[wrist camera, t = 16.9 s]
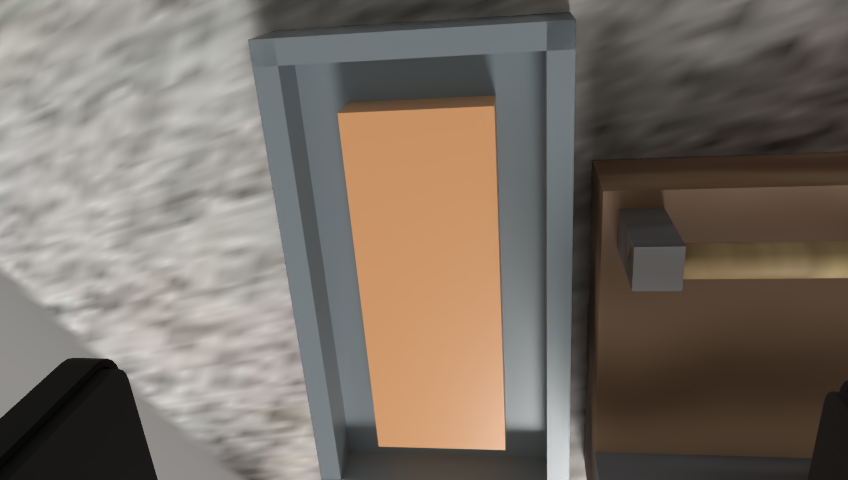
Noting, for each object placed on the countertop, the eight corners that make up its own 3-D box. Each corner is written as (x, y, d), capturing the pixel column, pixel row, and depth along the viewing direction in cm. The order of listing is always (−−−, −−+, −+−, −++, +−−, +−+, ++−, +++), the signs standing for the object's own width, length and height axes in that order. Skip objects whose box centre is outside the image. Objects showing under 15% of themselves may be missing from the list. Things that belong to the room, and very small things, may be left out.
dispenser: (592, 160, 28) (653, 333, 16) (903, 150, 27) (1257, 335, 14) (584, 460, 35) (623, 760, 22) (836, 468, 33) (1038, 798, 20)
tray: (274, 31, 28) (248, 40, 25) (569, 12, 26) (575, 19, 23) (338, 453, 36) (323, 494, 34) (564, 460, 35) (568, 504, 32)
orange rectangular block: (349, 102, 28) (337, 113, 26) (495, 95, 27) (494, 106, 25) (386, 419, 34) (378, 446, 32) (506, 422, 33) (505, 450, 31)
